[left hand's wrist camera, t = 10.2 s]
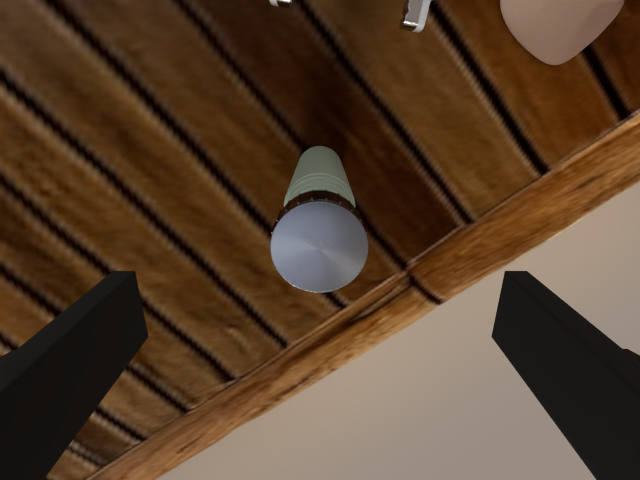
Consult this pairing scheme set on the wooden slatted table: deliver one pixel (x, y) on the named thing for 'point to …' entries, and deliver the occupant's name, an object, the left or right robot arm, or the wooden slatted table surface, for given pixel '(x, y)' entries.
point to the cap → (319, 241)
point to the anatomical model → (558, 25)
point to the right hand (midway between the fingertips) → (346, 17)
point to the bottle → (319, 174)
